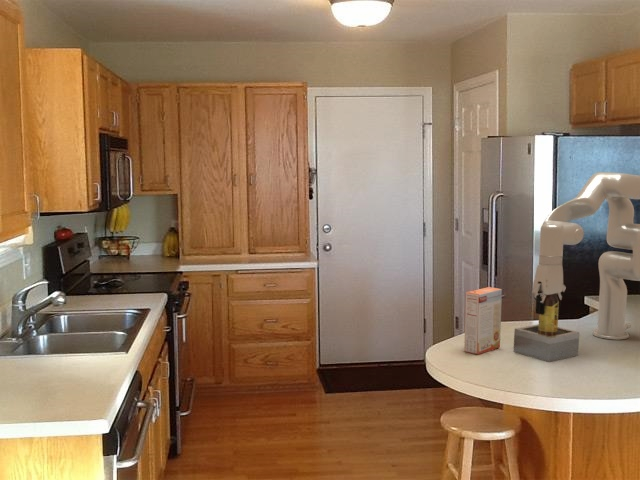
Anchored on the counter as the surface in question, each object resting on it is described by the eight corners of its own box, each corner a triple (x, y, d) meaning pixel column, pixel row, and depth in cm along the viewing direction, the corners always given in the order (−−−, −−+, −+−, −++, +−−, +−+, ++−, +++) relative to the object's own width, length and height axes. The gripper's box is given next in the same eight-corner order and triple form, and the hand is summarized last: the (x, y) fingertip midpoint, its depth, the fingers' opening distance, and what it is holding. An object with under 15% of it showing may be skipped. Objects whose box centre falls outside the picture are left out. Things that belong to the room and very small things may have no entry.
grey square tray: (546, 344, 278) (547, 322, 277) (582, 354, 266) (583, 331, 265) (513, 351, 268) (514, 328, 267) (549, 362, 256) (550, 338, 255)
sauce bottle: (557, 338, 262) (561, 279, 259) (538, 337, 263) (541, 278, 261) (555, 333, 268) (559, 276, 266) (537, 332, 269) (540, 275, 267)
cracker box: (485, 344, 277) (488, 286, 274) (500, 348, 272) (503, 288, 270) (462, 351, 267) (464, 291, 264) (477, 355, 263) (480, 293, 260)
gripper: (558, 257, 270) (555, 307, 273) (524, 261, 260) (521, 313, 263) (576, 260, 264) (573, 311, 267) (542, 264, 254) (539, 317, 257)
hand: (547, 312), depth 265 cm, fingers open, 7 cm apart
